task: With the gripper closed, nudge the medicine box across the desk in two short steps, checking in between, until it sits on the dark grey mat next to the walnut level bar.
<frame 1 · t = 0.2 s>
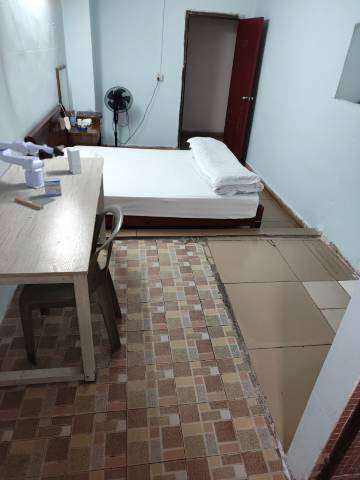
hand: (58, 155, 170), 21 cm above the table, tool horizontal, fingers open, 7 cm apart
skincare box: (75, 172, 211), on the table
medicine box: (53, 195, 179), on the table, touching level mat
level mat: (40, 200, 172), on the table
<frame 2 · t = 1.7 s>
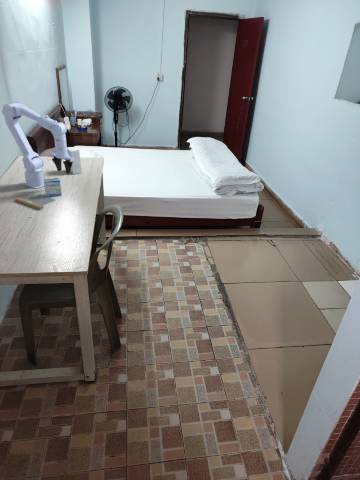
hand: (64, 172, 180), 10 cm above the table, tool pointing down, fingers open, 6 cm apart
nothing on the table moved.
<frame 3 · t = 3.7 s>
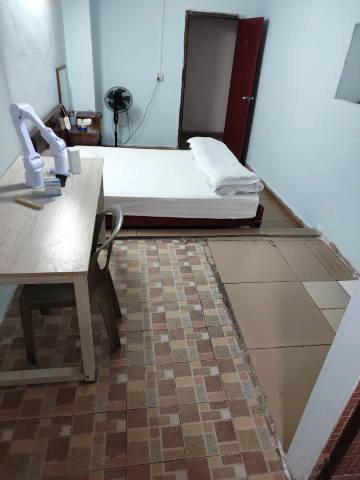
hand: (62, 186, 183), 2 cm above the table, tool pointing down, fingers closed
medicine box: (53, 195, 179), on the table, touching gripper
everything else where it was.
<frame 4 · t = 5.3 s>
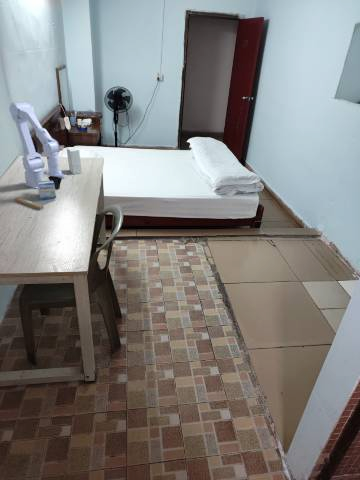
hand: (57, 189, 179), 3 cm above the table, tool pointing down, fingers closed
medicine box: (48, 197, 175), on the table, touching gripper, level mat
everything else where it was.
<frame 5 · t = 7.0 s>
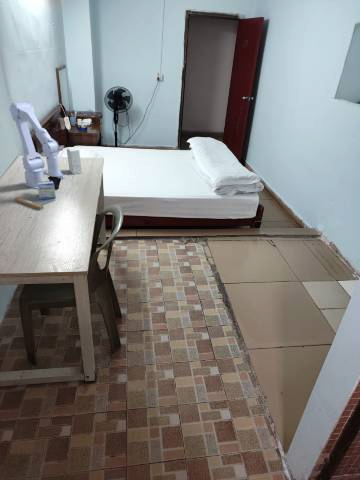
hand: (56, 189, 179), 2 cm above the table, tool pointing down, fingers closed
nothing on the table moved.
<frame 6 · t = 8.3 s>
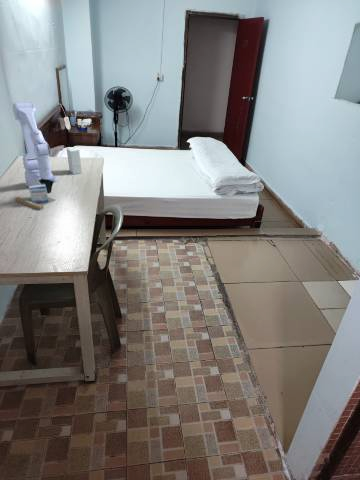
hand: (48, 192, 175), 3 cm above the table, tool pointing down, fingers closed
medicine box: (40, 201, 170), on the table, touching gripper, level mat
everything else where it was.
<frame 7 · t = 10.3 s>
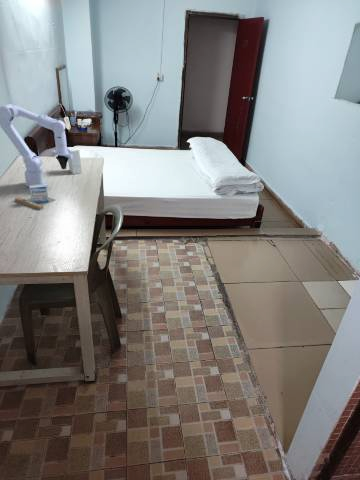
hand: (63, 168, 185), 10 cm above the table, tool pointing down, fingers closed
medicine box: (40, 201, 170), on the table, touching level mat
everything else where it was.
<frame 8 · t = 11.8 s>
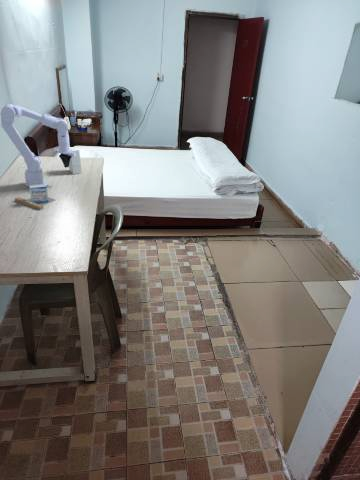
hand: (66, 167, 188), 10 cm above the table, tool pointing down, fingers closed
nothing on the table moved.
at the end: medicine box inside the target area (1.9 cm from its centre), on the table; medicine box tilted 0°; medicine box moved 10.2 cm from its start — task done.
